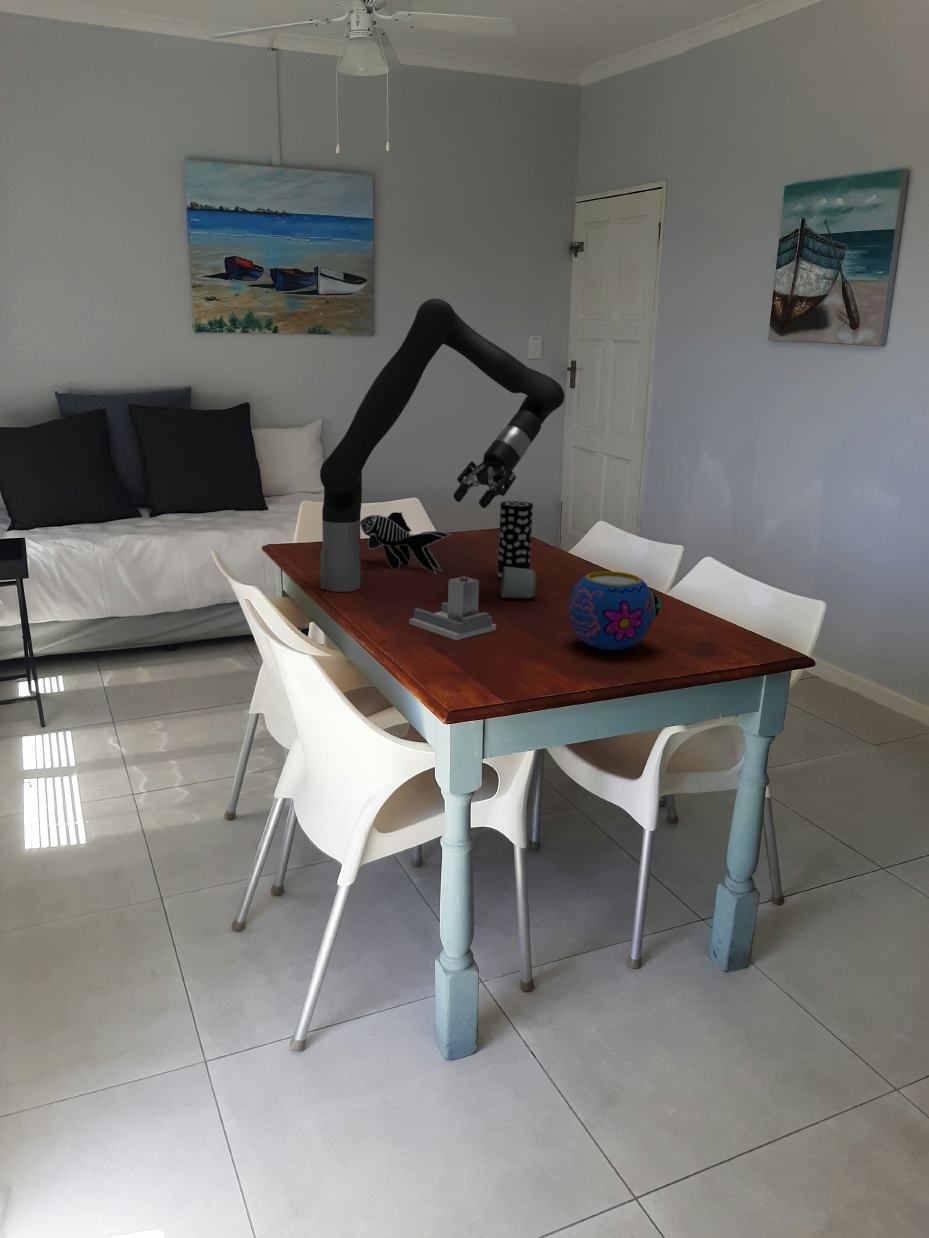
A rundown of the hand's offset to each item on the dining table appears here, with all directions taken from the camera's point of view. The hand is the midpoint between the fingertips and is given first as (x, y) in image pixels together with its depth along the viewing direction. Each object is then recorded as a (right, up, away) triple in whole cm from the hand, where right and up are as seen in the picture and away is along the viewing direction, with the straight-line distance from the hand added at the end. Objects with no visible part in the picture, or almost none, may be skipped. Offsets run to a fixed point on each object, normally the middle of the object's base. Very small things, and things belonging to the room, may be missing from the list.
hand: (468, 502), depth 221 cm
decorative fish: (-18, -13, +42) cm, 48 cm away
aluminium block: (-1, -28, -11) cm, 30 cm away
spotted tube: (+12, -16, +34) cm, 40 cm away
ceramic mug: (+12, -21, +18) cm, 30 cm away
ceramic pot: (+29, -33, -18) cm, 48 cm away
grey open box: (-4, -28, -8) cm, 30 cm away
